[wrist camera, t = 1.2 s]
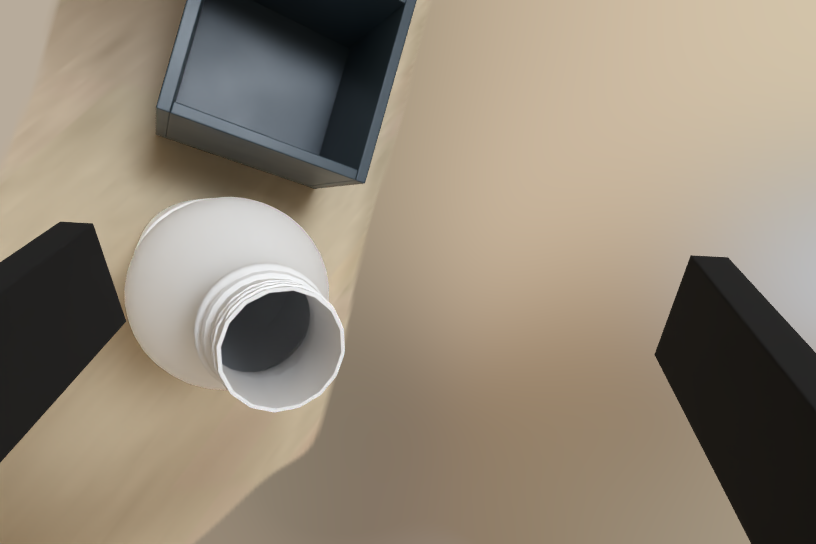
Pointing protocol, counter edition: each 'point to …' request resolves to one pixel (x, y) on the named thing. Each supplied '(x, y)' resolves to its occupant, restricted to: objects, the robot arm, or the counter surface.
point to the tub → (285, 83)
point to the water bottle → (235, 302)
